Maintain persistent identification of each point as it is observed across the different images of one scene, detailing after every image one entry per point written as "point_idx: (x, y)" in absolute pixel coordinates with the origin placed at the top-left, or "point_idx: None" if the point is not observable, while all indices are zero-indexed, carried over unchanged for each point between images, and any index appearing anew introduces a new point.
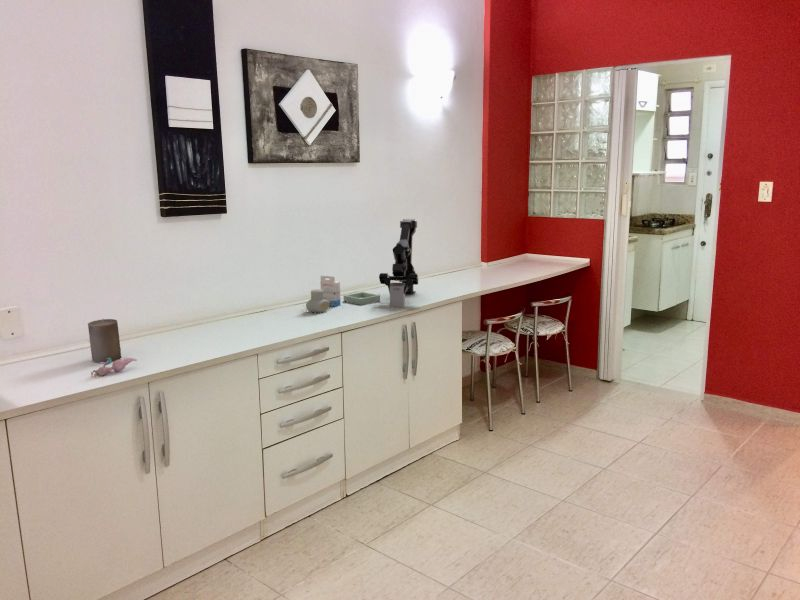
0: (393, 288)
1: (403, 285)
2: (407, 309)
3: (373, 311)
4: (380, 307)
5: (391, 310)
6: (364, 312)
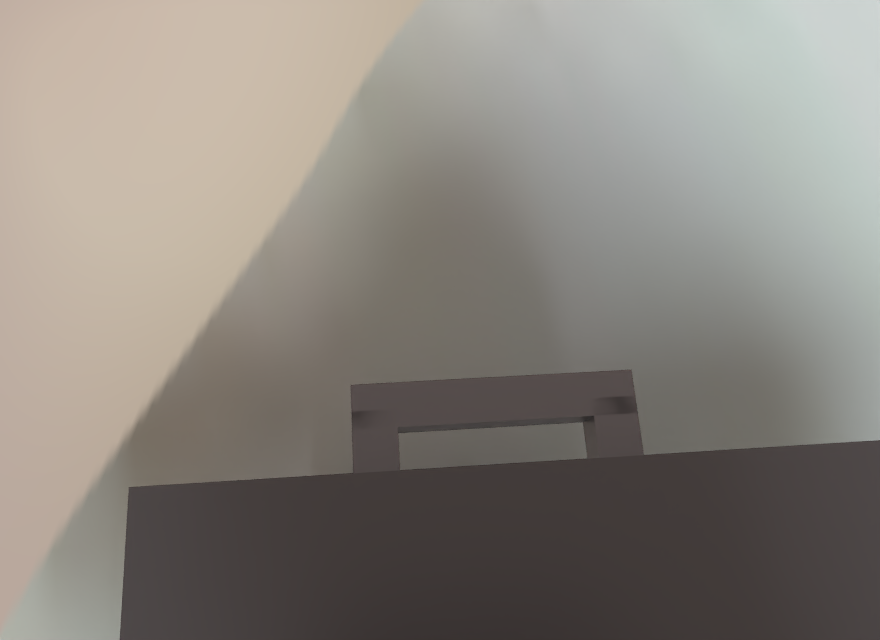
0: (612, 393)
1: (146, 535)
2: (203, 336)
3: (745, 104)
4: (749, 419)
5: (478, 213)
6: (848, 26)
